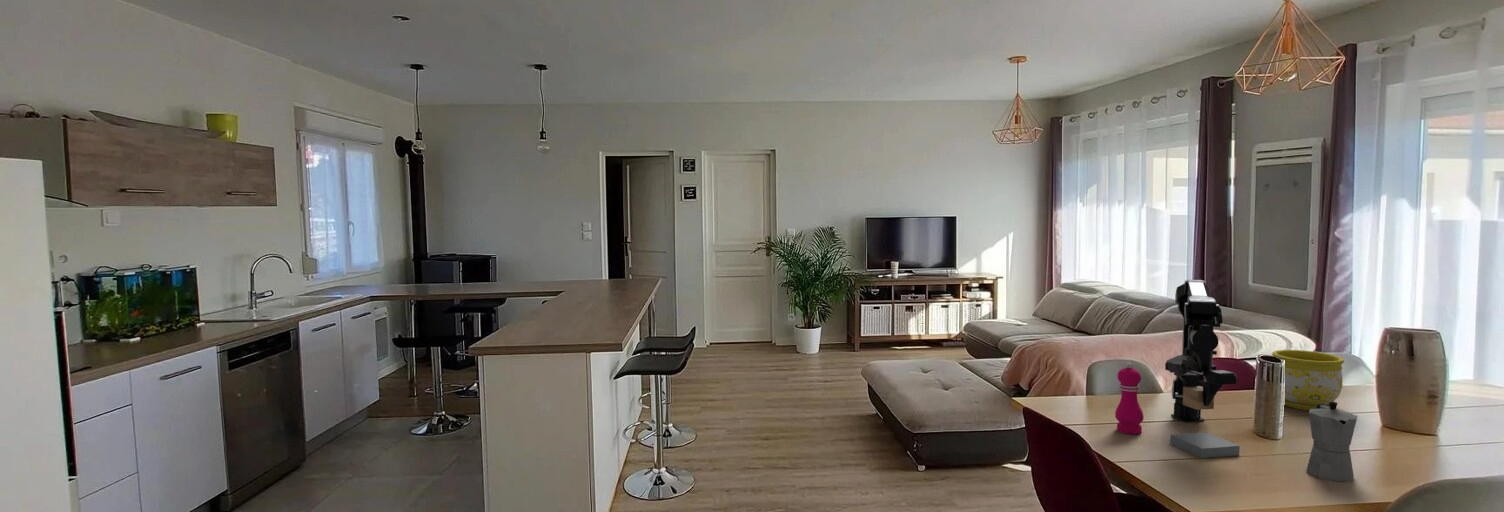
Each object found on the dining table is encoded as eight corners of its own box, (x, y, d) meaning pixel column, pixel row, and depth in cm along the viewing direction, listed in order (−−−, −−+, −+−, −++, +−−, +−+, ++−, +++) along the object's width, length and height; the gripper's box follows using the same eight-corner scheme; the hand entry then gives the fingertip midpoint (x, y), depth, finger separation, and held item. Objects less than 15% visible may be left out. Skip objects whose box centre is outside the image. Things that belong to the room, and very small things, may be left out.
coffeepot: (1366, 488, 160) (1370, 411, 159) (1316, 482, 164) (1319, 407, 162) (1338, 464, 174) (1342, 394, 173) (1292, 460, 178) (1296, 390, 177)
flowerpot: (1357, 413, 216) (1359, 361, 214) (1298, 414, 216) (1300, 361, 215) (1311, 397, 234) (1313, 349, 232) (1256, 398, 234) (1259, 349, 233)
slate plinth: (1205, 441, 192) (1205, 432, 192) (1239, 455, 182) (1239, 445, 181) (1169, 443, 191) (1170, 434, 191) (1201, 458, 180) (1202, 448, 180)
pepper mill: (1141, 428, 204) (1141, 360, 202) (1145, 435, 197) (1145, 365, 196) (1113, 426, 206) (1113, 359, 205) (1117, 433, 199) (1116, 364, 198)
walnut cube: (1199, 404, 191) (1199, 386, 191) (1213, 408, 186) (1214, 390, 186) (1182, 404, 190) (1183, 386, 190) (1196, 409, 185) (1197, 391, 185)
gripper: (1148, 340, 196) (1146, 395, 196) (1200, 353, 177) (1198, 413, 178) (1184, 339, 197) (1182, 394, 198) (1239, 351, 179) (1237, 412, 179)
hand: (1198, 403), depth 188 cm, fingers closed on walnut cube, 5 cm apart
